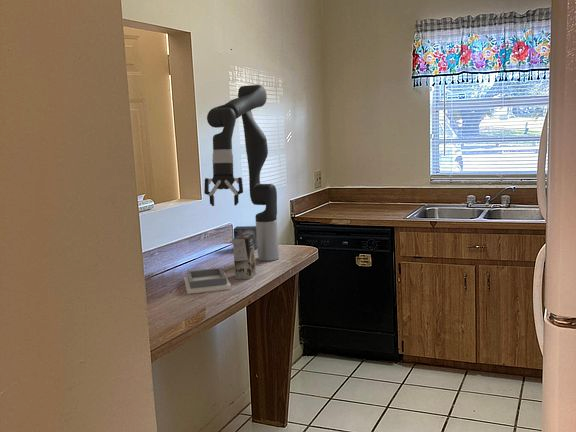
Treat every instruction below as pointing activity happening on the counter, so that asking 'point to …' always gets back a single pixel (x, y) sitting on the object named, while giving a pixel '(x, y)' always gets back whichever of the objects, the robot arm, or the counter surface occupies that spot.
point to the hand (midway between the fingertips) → (224, 205)
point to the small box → (246, 232)
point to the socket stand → (206, 280)
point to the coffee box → (244, 256)
